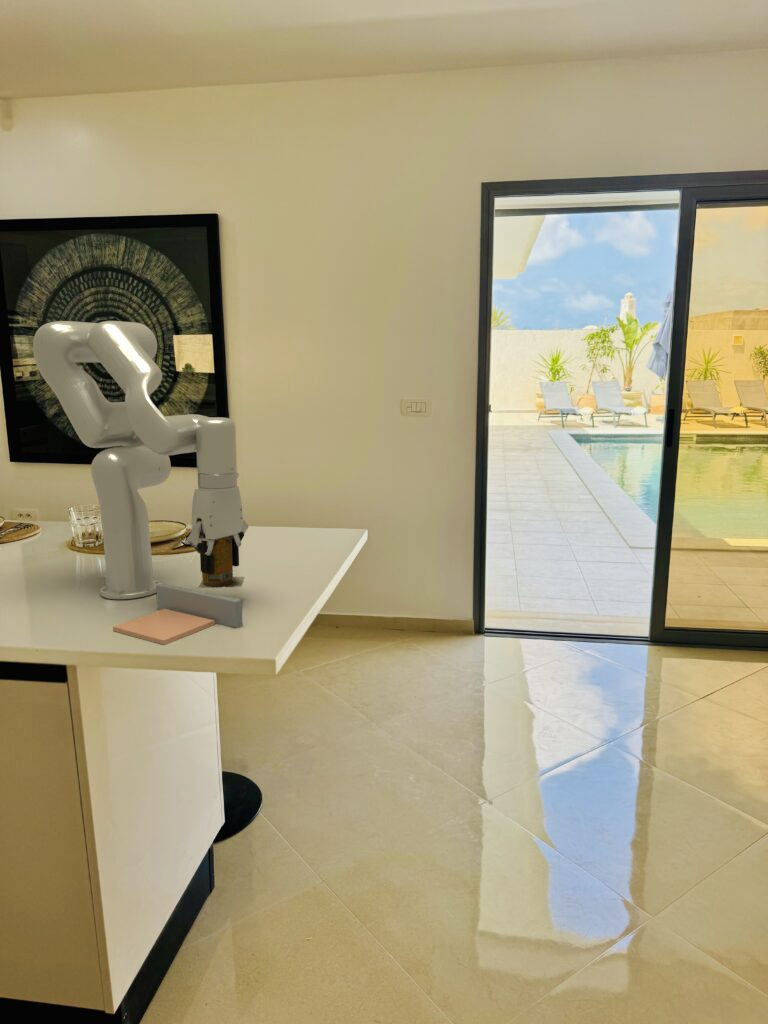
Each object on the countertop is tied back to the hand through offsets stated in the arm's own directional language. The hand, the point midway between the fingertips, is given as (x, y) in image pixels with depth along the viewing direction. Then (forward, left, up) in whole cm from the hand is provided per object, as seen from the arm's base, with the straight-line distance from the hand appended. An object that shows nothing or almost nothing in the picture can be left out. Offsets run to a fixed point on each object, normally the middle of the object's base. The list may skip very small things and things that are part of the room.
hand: (220, 568), depth 145 cm
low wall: (+1, -7, -8) cm, 11 cm away
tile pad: (0, -15, -8) cm, 17 cm away
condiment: (0, 0, -3) cm, 3 cm away
